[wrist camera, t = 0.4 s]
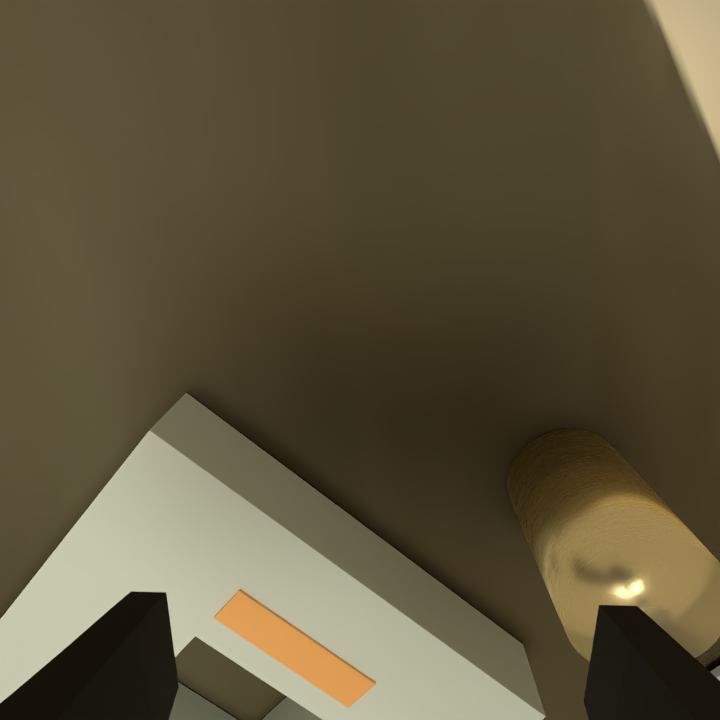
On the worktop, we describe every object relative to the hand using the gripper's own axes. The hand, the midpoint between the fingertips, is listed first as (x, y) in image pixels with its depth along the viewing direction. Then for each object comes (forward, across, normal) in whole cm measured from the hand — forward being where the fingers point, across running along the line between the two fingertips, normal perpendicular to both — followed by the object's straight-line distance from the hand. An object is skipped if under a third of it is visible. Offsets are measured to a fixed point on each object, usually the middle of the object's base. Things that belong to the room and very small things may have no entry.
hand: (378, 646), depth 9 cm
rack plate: (+10, +6, +10) cm, 15 cm away
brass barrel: (+10, -6, +2) cm, 12 cm away
